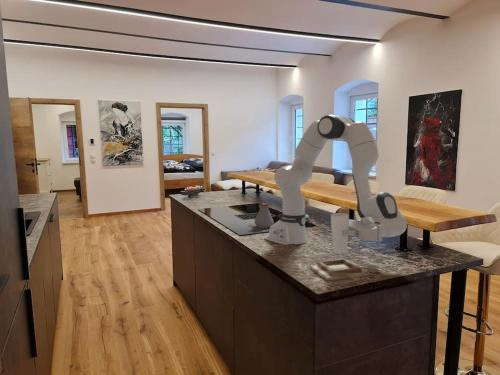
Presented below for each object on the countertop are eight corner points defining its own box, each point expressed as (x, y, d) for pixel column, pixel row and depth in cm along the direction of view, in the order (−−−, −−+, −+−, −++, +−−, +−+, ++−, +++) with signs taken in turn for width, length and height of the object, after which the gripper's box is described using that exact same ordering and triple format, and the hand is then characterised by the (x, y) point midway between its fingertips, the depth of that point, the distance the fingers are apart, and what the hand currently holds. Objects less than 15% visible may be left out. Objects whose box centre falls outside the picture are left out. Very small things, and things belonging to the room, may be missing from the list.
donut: (288, 219, 235) (288, 213, 234) (307, 218, 236) (307, 212, 235) (292, 223, 223) (292, 217, 222) (311, 223, 224) (311, 216, 223)
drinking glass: (329, 254, 140) (329, 215, 138) (332, 249, 146) (332, 212, 145) (347, 255, 137) (347, 216, 136) (350, 250, 144) (349, 213, 142)
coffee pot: (275, 228, 211) (275, 203, 209) (256, 229, 209) (256, 203, 207) (268, 220, 232) (268, 197, 229) (250, 221, 230) (250, 197, 228)
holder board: (310, 268, 147) (310, 261, 147) (349, 263, 152) (349, 256, 152) (327, 280, 134) (327, 273, 134) (369, 275, 139) (369, 268, 139)
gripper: (354, 214, 154) (325, 217, 150) (385, 226, 134) (352, 229, 131) (354, 229, 155) (324, 232, 151) (384, 242, 135) (352, 246, 131)
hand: (337, 231), depth 141 cm, fingers closed on drinking glass, 6 cm apart
